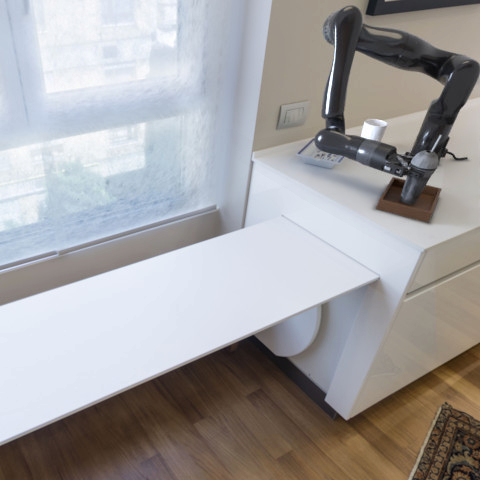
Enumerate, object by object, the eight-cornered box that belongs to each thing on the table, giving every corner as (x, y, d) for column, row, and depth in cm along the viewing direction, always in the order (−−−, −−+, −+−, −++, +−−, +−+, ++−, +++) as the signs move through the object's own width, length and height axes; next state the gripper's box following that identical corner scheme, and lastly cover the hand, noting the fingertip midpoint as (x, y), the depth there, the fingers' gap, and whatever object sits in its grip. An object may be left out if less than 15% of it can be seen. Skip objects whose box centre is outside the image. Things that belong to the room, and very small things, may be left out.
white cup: (355, 152, 164) (364, 124, 157) (356, 144, 169) (365, 117, 162) (377, 155, 162) (387, 127, 155) (378, 148, 167) (387, 120, 160)
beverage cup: (390, 195, 137) (417, 130, 123) (412, 195, 138) (442, 130, 124) (401, 207, 132) (431, 140, 118) (424, 206, 132) (456, 140, 119)
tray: (389, 185, 144) (392, 176, 142) (437, 197, 138) (441, 188, 136) (375, 208, 132) (379, 199, 130) (427, 222, 126) (432, 213, 124)
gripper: (368, 148, 129) (423, 166, 121) (391, 136, 137) (445, 153, 128) (359, 172, 135) (412, 192, 126) (382, 160, 142) (433, 177, 133)
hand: (428, 172), depth 127 cm, fingers closed on beverage cup, 7 cm apart
